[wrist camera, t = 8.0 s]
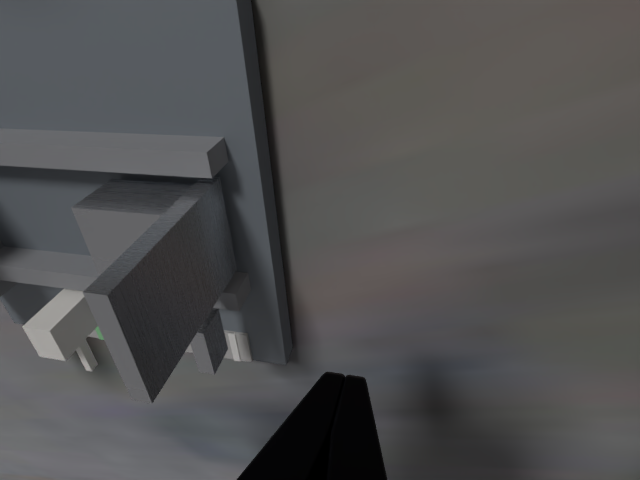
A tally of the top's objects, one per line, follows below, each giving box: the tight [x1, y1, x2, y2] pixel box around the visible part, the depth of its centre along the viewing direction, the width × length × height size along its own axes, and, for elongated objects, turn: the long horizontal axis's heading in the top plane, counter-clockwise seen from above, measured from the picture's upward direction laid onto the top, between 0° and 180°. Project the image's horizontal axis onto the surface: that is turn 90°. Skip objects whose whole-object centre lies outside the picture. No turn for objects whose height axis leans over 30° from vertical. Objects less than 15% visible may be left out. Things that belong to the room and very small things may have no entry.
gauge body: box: [0, 0, 293, 365], centre depth 14 cm, size 14×14×7 cm
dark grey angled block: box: [71, 177, 237, 403], centre depth 14 cm, size 4×6×6 cm, turn 3°
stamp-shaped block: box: [22, 289, 98, 371], centre depth 18 cm, size 1×4×3 cm, turn 3°
